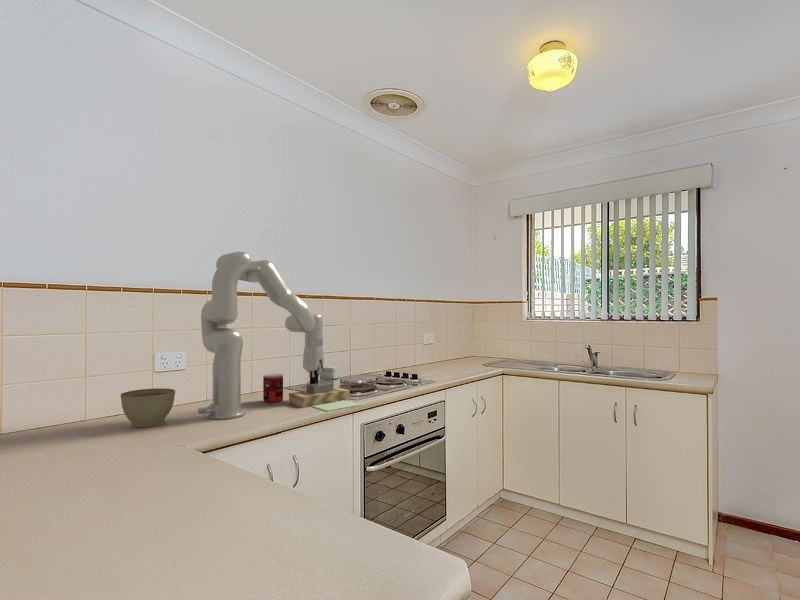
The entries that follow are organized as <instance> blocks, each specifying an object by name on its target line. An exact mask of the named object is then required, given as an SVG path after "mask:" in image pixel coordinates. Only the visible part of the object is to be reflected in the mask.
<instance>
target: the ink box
mask: <svg viewBox="0 0 800 600" xmlns="http://www.w3.org/2000/svg"><path fill="white" fill-rule="evenodd" d="M340 369H341V367H339V366H324V369H323V370H322V373H321V374H319V383H324V382H326V383H331V384H333V387H337V388H341V374H340V373H341V370H340Z"/></svg>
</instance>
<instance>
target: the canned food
mask: <svg viewBox="0 0 800 600" xmlns="http://www.w3.org/2000/svg"><path fill="white" fill-rule="evenodd" d="M262 379H263V381H262V383H263V384H262V385H263V386H262V387H263V388H262V391H263V393H262V395H263V397H262V399H263V400H262V401H263V402H264V403H266V404H277V403H282V402H283V400H284V374H282V373H267V374H264V375H263V378H262Z"/></svg>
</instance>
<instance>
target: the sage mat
mask: <svg viewBox="0 0 800 600" xmlns="http://www.w3.org/2000/svg"><path fill="white" fill-rule="evenodd" d="M358 406H359V407H360V406H362V404H361V403H358V402H354V401H350V400H345V401H339V402H333V403H327V404H321V405H316V406H311V407H312V408H314V409H318V410H321V411H325V412H332V411H339V410H343V409H348V408H353V407H358Z"/></svg>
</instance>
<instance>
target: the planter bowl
mask: <svg viewBox="0 0 800 600" xmlns="http://www.w3.org/2000/svg"><path fill="white" fill-rule="evenodd" d="M175 395H176V389H173V388H158V387H157V388H142V389H134V390H130V391H129V390H128V391H124V392H122V393H120V399H121V408H122V410H123V413H124V415H125V417H126V418H127V419H128V421H130V424H131V427H134V428H149V427H148V426H150V427H155V425H156V426H160V425H162V424H164V423H165V419H166V418H167V417H168V415H169V414H170V412H171V410H172V408H173V405H174V403H175Z"/></svg>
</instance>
